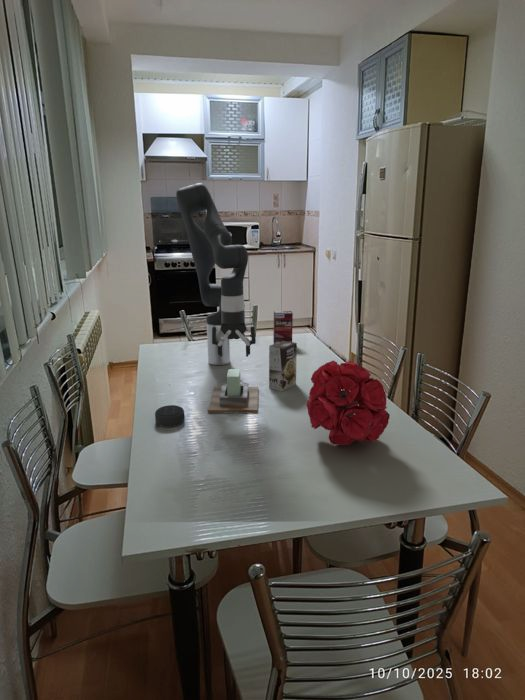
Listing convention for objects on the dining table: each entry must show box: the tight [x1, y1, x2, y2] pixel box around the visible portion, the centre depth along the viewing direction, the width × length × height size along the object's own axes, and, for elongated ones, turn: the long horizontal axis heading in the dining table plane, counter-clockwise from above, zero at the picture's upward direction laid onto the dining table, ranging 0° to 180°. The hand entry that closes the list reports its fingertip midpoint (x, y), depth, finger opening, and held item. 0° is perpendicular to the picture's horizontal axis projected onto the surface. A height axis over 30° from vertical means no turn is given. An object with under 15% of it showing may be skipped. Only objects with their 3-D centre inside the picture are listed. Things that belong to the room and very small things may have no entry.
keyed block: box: [226, 368, 241, 396], centre depth 161 cm, size 4×7×9 cm, turn 179°
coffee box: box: [268, 341, 298, 392], centre depth 172 cm, size 9×6×16 cm
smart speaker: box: [154, 404, 186, 428], centre depth 147 cm, size 9×9×4 cm
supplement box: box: [272, 310, 294, 344], centre depth 223 cm, size 9×5×16 cm, turn 95°
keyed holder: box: [207, 383, 259, 414], centre depth 162 cm, size 20×16×4 cm
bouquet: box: [306, 360, 390, 446], centre depth 135 cm, size 22×24×30 cm
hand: (234, 356), depth 158 cm, fingers open, 8 cm apart
